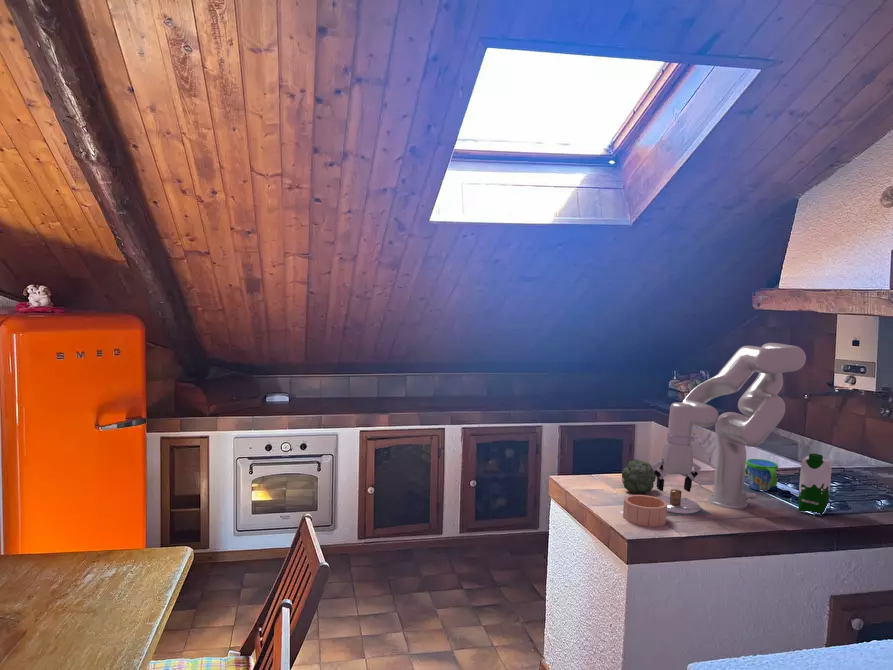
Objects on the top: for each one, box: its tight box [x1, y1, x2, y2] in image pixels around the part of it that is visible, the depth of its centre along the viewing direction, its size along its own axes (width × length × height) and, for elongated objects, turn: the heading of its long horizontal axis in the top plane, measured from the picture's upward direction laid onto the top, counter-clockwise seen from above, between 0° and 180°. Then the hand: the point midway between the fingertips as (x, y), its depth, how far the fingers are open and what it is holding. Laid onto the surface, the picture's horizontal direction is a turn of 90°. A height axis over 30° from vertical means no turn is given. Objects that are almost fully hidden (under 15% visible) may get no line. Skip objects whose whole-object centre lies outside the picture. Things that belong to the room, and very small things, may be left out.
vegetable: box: [621, 458, 657, 495], centre depth 252 cm, size 12×13×15 cm
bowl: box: [622, 494, 668, 527], centre depth 222 cm, size 13×13×6 cm
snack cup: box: [745, 458, 779, 491], centre depth 259 cm, size 16×10×10 cm
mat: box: [667, 497, 712, 517], centre depth 235 cm, size 17×17×1 cm
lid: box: [655, 488, 701, 514], centre depth 235 cm, size 16×16×5 cm
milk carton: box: [797, 453, 833, 514], centre depth 235 cm, size 9×9×20 cm
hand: (673, 490), depth 234 cm, fingers open, 9 cm apart
